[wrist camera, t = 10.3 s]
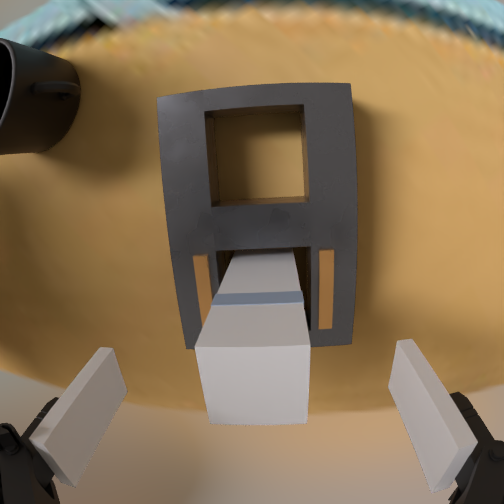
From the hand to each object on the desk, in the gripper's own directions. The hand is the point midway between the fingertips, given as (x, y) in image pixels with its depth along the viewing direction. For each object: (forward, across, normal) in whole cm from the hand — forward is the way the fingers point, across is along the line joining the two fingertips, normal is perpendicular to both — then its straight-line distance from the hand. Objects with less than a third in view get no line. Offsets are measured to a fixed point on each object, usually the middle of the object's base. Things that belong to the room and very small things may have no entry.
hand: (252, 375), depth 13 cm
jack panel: (+13, 0, +5) cm, 14 cm away
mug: (+14, -18, +17) cm, 28 cm away
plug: (+13, 0, 0) cm, 13 cm away
